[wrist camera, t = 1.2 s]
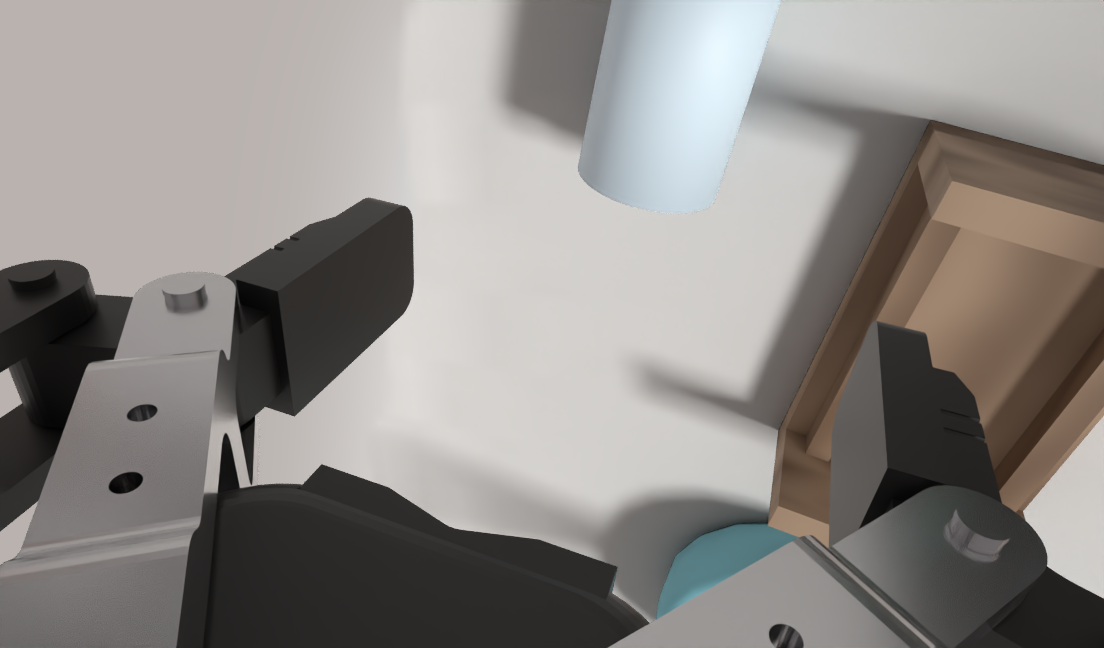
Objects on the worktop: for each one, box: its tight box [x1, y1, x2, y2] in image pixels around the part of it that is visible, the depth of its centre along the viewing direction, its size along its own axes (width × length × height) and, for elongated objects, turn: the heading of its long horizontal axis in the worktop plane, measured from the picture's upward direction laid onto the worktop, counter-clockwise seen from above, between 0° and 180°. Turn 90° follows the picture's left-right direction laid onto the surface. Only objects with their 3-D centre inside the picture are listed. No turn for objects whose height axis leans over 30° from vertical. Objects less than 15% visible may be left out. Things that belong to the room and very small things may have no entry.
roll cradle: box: [768, 120, 1104, 548], centre depth 26 cm, size 10×15×6 cm, turn 170°
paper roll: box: [578, 0, 781, 214], centre depth 24 cm, size 11×5×5 cm, turn 170°
